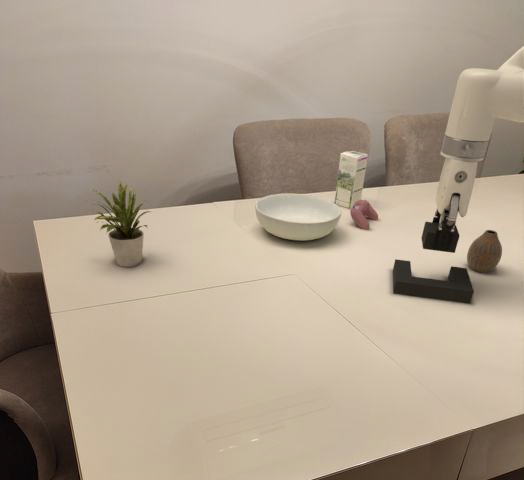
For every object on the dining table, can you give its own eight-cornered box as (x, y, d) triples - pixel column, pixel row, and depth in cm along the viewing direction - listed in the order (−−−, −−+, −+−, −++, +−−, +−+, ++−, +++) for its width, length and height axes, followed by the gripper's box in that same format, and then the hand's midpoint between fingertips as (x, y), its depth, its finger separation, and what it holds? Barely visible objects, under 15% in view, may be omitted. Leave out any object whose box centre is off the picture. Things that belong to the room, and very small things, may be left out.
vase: (493, 265, 114) (505, 228, 109) (498, 278, 109) (511, 239, 104) (462, 261, 115) (472, 224, 110) (465, 273, 110) (476, 235, 105)
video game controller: (364, 223, 138) (356, 198, 135) (379, 218, 135) (372, 193, 133) (353, 234, 130) (345, 208, 128) (369, 229, 128) (361, 203, 125)
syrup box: (360, 205, 146) (369, 153, 137) (349, 210, 142) (357, 156, 134) (344, 200, 149) (351, 149, 140) (333, 205, 145) (340, 152, 137)
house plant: (88, 250, 110) (76, 174, 101) (151, 243, 115) (144, 171, 106) (96, 278, 100) (83, 196, 90) (164, 269, 104) (159, 191, 95)
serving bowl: (263, 252, 114) (265, 223, 110) (247, 220, 131) (248, 193, 127) (349, 248, 118) (354, 220, 114) (323, 218, 135) (326, 192, 131)
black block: (451, 241, 102) (456, 225, 100) (454, 253, 97) (459, 235, 95) (421, 238, 103) (425, 221, 101) (423, 249, 98) (427, 231, 96)
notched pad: (462, 280, 107) (466, 268, 105) (469, 305, 98) (474, 291, 96) (392, 271, 109) (395, 259, 107) (392, 294, 100) (395, 281, 98)
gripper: (494, 161, 82) (463, 263, 92) (478, 140, 96) (453, 230, 106) (446, 156, 83) (421, 257, 93) (438, 136, 97) (416, 226, 107)
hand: (438, 242), depth 99 cm, fingers closed on black block, 6 cm apart
